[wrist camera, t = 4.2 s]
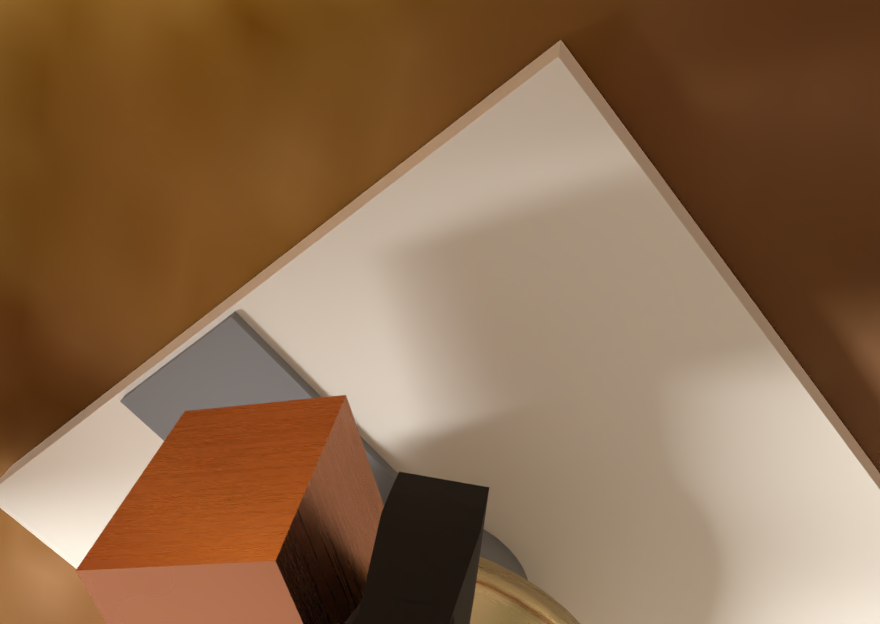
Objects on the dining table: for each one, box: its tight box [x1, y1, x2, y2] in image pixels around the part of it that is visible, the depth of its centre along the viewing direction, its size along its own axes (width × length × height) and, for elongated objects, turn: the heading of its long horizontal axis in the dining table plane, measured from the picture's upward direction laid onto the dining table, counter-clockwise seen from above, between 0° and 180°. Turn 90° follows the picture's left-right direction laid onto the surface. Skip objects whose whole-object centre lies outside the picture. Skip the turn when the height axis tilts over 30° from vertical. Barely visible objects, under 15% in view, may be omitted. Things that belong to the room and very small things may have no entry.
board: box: [0, 40, 880, 624], centre depth 16 cm, size 14×15×3 cm
